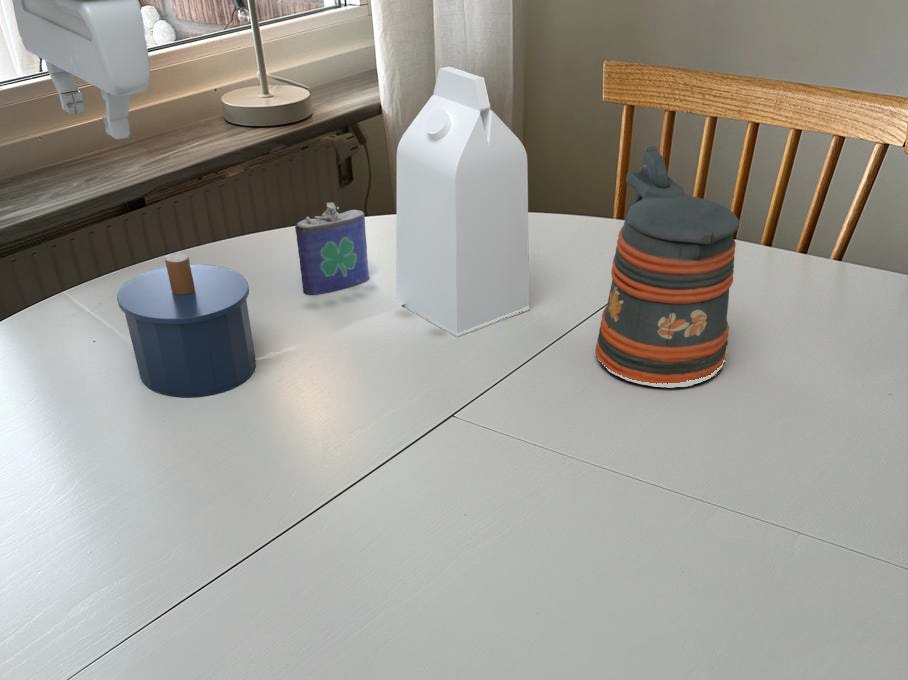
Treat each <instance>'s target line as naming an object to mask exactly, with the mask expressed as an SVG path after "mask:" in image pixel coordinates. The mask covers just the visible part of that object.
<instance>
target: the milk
mask: <svg viewBox="0 0 908 680" xmlns="http://www.w3.org/2000/svg"><path fill="white" fill-rule="evenodd" d="M488 94H489V93H488V89H487V85H486V81H485V77H483V76H480V75H476V74H473V73H470V72H467V71H465V70H462V69H459V68H456V67H452V66H445V67H440V68H439V70H438V73H437V78H436V82H435V85H434V88H433V94H432V95H431V96H430V98H429V99H428V100H427V101H426V103H425V104H424V106H423V107H422V108H421V110H420V112H418V114H417V115H416V117H415V118H414V119H413V121H412V122H411V123H410V125H409V126H408V128H407V129H406V130H405V131H404V133H403V134H402V135H401V138H400V140H399V142H398V145H397V149H396V261H395V262H396V263H395V264H396V265H395V266H396V269H395V270H396V272H395V273H396V275H395V277H396V280H395V281H396V287H395V289H396V292H395V293H396V294H395V295H396V297H395V298H396V300H397V301H399V302H401V303H403V304H402V305H401V307H403V308H405V309H406V310H408V311H410V312H412V313H414V314H415V315H417V316H419V317H420V318H422V319H424V320H426V321H428V322H430V323H431V324H433V325H435V326H437V327H439V328H440V329H442V330H444V331H446V332H447V333H449V334H451V335H453V336H454V337H457V338H459V337H462V336H464V335H467V334H470V333H472V332H475V331H477V330H480V329H483V328H485V327H488V326H490V325H493V324H496V323H500V322H501V321H504V320H506V319H509V318H512V317H514V316H517V315H520V314H523V313H525V312H528V311H530V308H529V309H528V310H525V311H523V312H520V313H517V314H515V315H512V316H509V317H507V318H504V319H501V320H499V321H496V322H493V323H491V324H488V325H485V326H482V327H480V328H477V329H474V330H472V331H469V332H466V333H464V334H461V335H458V336H456V335H455V334H453V333H451V332H449V331H448V330H446V329H444V328H442V327H441V326H439V325H437V324H435V323H433V322H432V321H430V320H433V321H435V322H437V323H438V324H440V325H442V326H445V327H446V328H448V329H450V330H451V331H454V332H455V333H460V332H463V331H464V330H468V329H470V328H472V327H475V326H478V325H480V324H483V323H485V322H489V321H491V320H494V319H496V318H498V317H501V316H503V315H506V314H509V313H512V312H514V311H517V310H520V309H522V308H524V307H526V306H529V307H530V257H529V256H530V251H529V250H530V249H529V248H530V247H529V246H530V245H529V243H530V242H529V184H528V183H529V182H528V181H529V179H528V178H529V177H528V176H529V175H528V174H529V173H528V172H529V171H528V154H527V151H526V148H525V146H524V145H523V142H522V141H521V140H520V139H519V138H518V137H517V135H516V134H515V133H514V132H513V131H512V130H511V129H510V128H509V127H508V126H507V124H506V123H504V121H503V120H502V119H501V118H500V117H499V116H498V114H496V113H495V112H494V111H493V110H492V109H491V103H490V100H489V95H488ZM410 309H411V310H410ZM412 310H413V311H412ZM414 311H415V312H414ZM416 312H417V313H419V314H420V315H419V314H417V313H416ZM421 315H423V316H424V317H423V316H421ZM425 317H427V318H429V319H430V320H428V319H426V318H425Z"/></svg>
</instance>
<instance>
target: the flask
mask: <svg viewBox="0 0 908 680" xmlns="http://www.w3.org/2000/svg"><path fill="white" fill-rule="evenodd" d="M336 206H337V205H335V202H333V201H332V202H326V210H325V211H324V212H323V213H322V214H321V216H319V215H317V216H316V215H315V216H314V218H310V216H306V217H305V219H303V220H300V221H298V222H297V223H296V224H295V226H294V229H295V235H296V243H297V251H298V259H299V270H300V274H301V275H300V276H301V284H302V292H303V294H304V295H306V296H320V295H326V294H330V293H335V292H340V291H343V290H346V289H350V288H354V287H356V286H358V285H363V284H364V283H366V282H368V281H369V280H370V273H369V262H368V260H369V259H368V245H367V244H368V243H367V234H366V233H367V232H366V217H365V215H366V214H365V213H364V212H363V211H362V210H358V209H349V210H347V211H344V212H340V213H339V212H338V211H337V210H339V209H340V206H337V207H336Z"/></svg>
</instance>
